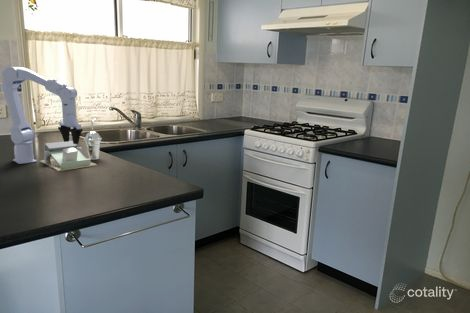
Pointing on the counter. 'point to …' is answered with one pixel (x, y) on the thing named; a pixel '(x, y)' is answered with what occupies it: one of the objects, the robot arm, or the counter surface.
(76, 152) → the white rectangular block
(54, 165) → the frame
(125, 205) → the counter surface
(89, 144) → the cup with straw
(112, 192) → the counter surface
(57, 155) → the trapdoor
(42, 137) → the counter surface
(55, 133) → the counter surface
